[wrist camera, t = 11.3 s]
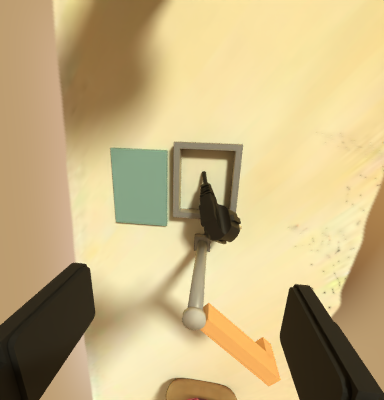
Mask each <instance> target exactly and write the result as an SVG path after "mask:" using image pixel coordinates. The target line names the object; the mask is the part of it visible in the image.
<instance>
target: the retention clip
mask: <svg viewBox="0 0 384 400" xmlns="http://www.w3.org/2000/svg"><path fill="white" fill-rule="evenodd" d="M182 322H183V324H184V326H185V327H187V328H188V329H191V330H201V331H202V332H204V333H205V334H206V335H207V336H208V337H210V338H211V339H212V340H213V341H214V342H216V343H217V344H218V345H219V346H220V347H222V348H223V349H224V350H225V351H227V352H228V353H229V354H230V355H231V356H233V357H234V358H235V359H236V360H237V361H239V362H240V363H241V364H242V365H244V366H245V367H246V368H247V369H248V370H250V371H251V372H252V373H253V374H254V375H256V376H257V377H258V378H259V379H261V380H262V381H263V382H264V383H265V384H267V385H268V386H270V385H272V384H274V383H276V382H278V381H280V380H281V379H280V376H279V372H278V369H277V365H276V361H275V358H274V354H273V351H272V347H271V344H270V343H269V342H268V341H267V340H266V339H264V338H263V337H262V338H261V339H259V340H257V341H256V342H254V341H253V340H252V339H251V338H249V337H248V336H247V335H246V334H245V333H244V332H242V331H241V330H240V329H239V328H238V327H237V326H235V325H234V324H233V323H232V322H231V321H230V320H228V319H227V318H226V317H225V316H224V315H223V314H221V313H220V312H219V311H218V310H217V309H215V308H214V307H213V306H212V305H211V304H210V303H208V304H207V305H205V306H204V307H203V310H201V309H200V308H197V307H190V308H187V309H186V310H185V311H184V313H183V317H182Z"/></svg>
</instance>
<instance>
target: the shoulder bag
mask: <svg viewBox="0 0 384 400" xmlns="http://www.w3.org/2000/svg"><path fill="white" fill-rule="evenodd" d="M166 400H237V398H236V396H235V394H234V393H233V392H232V390H231V389H229V388H228V387H226V386H223V385H220V384H216V383H211V382H205V381H200V380H194V379H176V380H174V381H173V382H172V383H171V384H170V385H169V387H168V389H167V393H166Z"/></svg>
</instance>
